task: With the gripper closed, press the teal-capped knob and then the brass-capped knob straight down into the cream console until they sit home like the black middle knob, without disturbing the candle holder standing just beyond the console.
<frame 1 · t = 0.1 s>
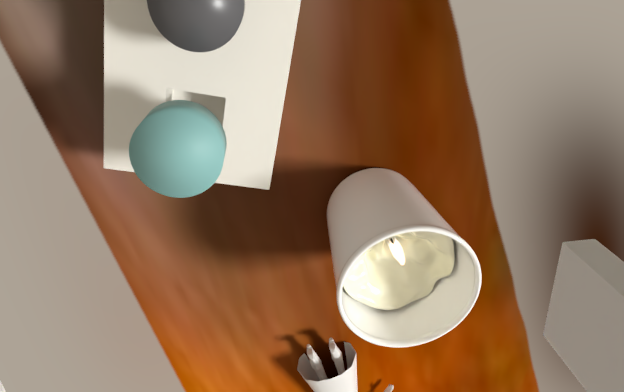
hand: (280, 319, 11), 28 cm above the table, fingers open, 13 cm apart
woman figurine: (338, 384, 51), on the table
knob mid: (202, 0, 28), point 5 cm above the table, slide at 2.8 cm
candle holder: (371, 208, 42), on the table
knob 1: (185, 137, 29), point 8 cm above the table, slide at 0.0 cm
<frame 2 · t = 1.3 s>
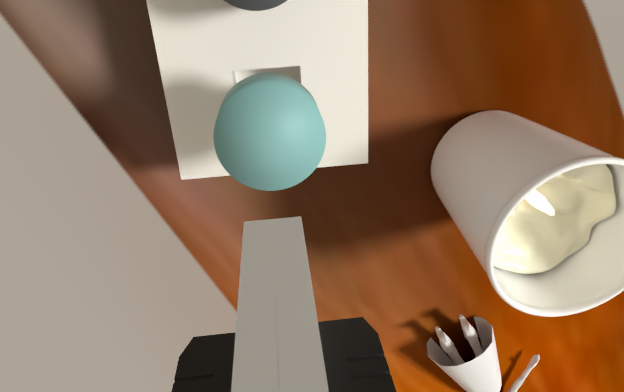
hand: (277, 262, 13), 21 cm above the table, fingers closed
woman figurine: (473, 364, 46), on the table
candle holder: (481, 161, 36), on the table
knob 1: (269, 119, 24), point 8 cm above the table, slide at 0.0 cm
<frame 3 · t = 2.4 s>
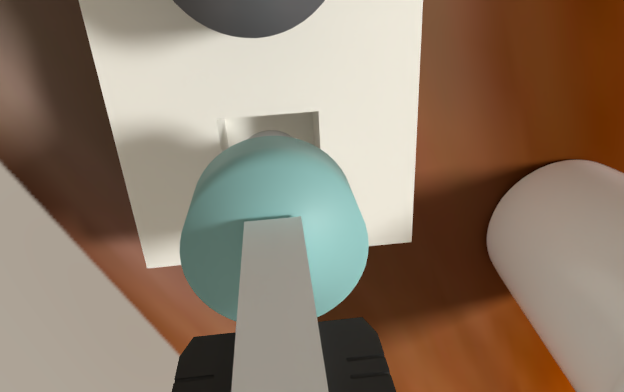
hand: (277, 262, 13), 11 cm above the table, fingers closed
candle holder: (552, 223, 27), on the table
knob 1: (273, 199, 16), point 7 cm above the table, slide at 0.1 cm, touching gripper
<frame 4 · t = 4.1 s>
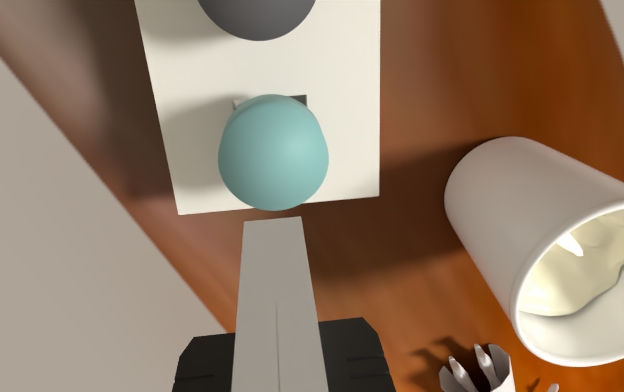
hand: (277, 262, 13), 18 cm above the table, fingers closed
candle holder: (497, 189, 33), on the table
knob 1: (272, 138, 25), point 5 cm above the table, slide at 2.6 cm
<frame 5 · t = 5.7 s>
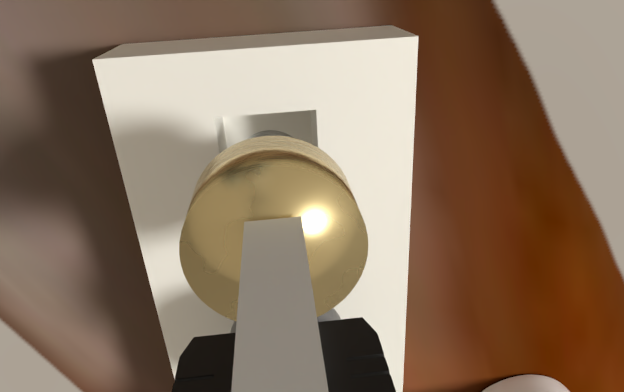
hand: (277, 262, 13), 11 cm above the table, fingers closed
knob mid: (286, 324, 22), point 5 cm above the table, slide at 2.8 cm
knob 2: (273, 199, 16), point 8 cm above the table, slide at 0.0 cm, touching gripper
console: (282, 266, 26), on the table
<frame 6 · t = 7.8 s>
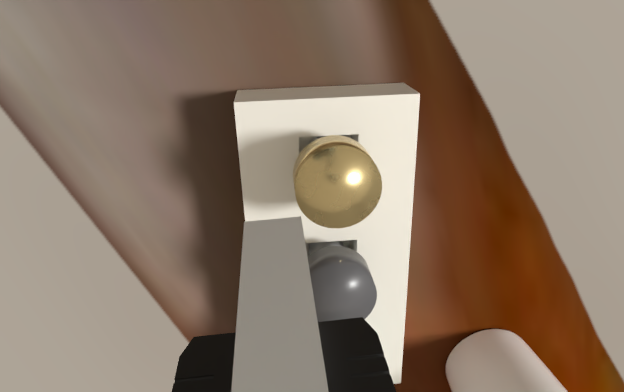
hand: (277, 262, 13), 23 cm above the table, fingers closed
knob mid: (331, 270, 34), point 5 cm above the table, slide at 2.8 cm
knob 2: (331, 169, 30), point 5 cm above the table, slide at 2.6 cm
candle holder: (484, 360, 46), on the table
console: (324, 239, 38), on the table
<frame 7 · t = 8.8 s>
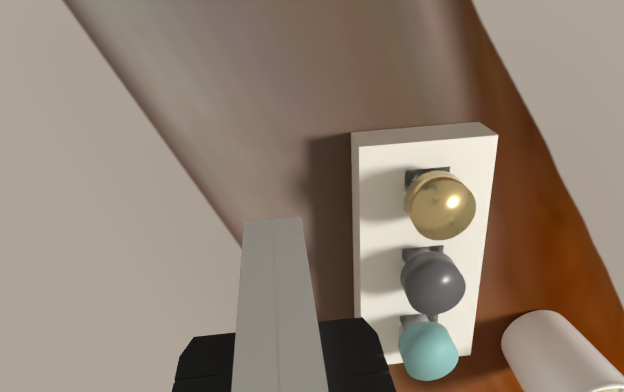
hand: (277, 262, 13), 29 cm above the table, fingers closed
knob mid: (424, 269, 44), point 5 cm above the table, slide at 2.8 cm
knob 2: (430, 194, 40), point 5 cm above the table, slide at 2.6 cm
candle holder: (532, 335, 56), on the table
knob 1: (420, 335, 47), point 5 cm above the table, slide at 2.6 cm
console: (410, 242, 48), on the table
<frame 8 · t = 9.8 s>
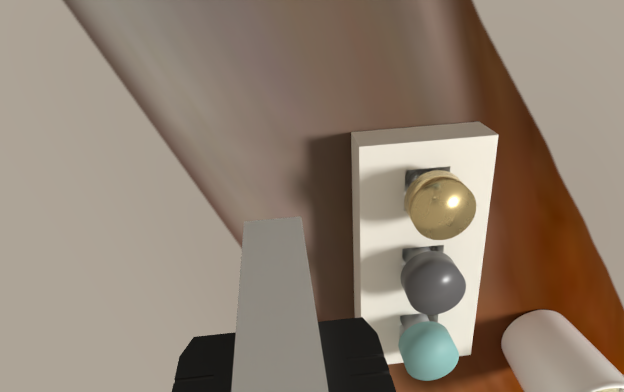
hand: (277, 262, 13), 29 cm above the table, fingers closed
knob mid: (424, 269, 44), point 5 cm above the table, slide at 2.8 cm
knob 2: (430, 194, 40), point 5 cm above the table, slide at 2.6 cm
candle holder: (533, 334, 56), on the table
knob 1: (421, 335, 47), point 5 cm above the table, slide at 2.6 cm
console: (410, 242, 48), on the table
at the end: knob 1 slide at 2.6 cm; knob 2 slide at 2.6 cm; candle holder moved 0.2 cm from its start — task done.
